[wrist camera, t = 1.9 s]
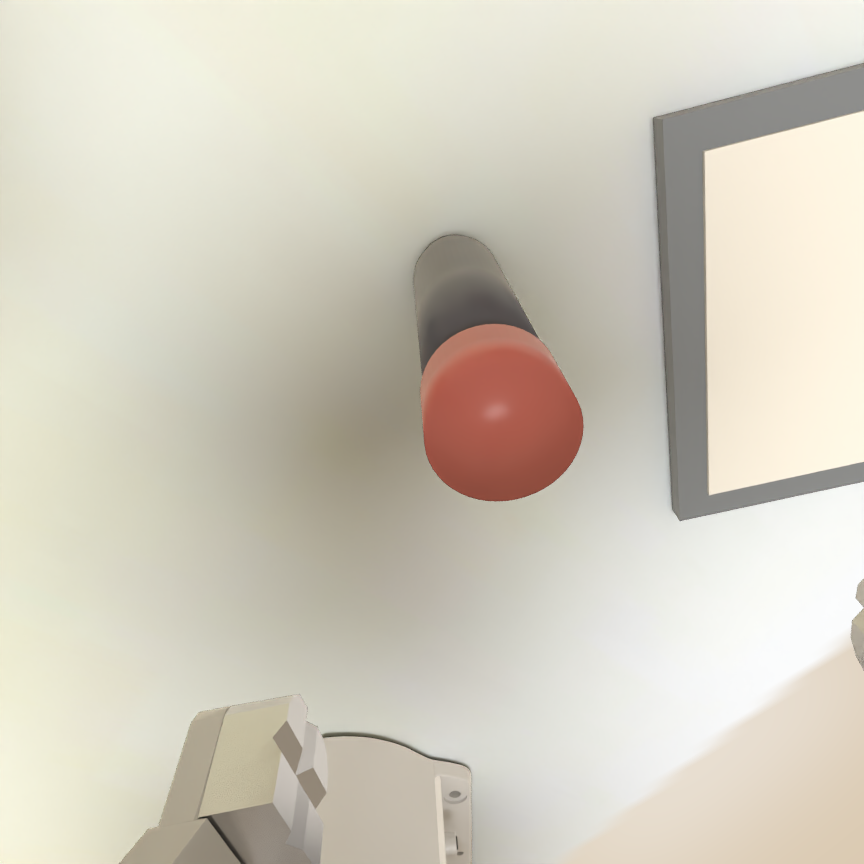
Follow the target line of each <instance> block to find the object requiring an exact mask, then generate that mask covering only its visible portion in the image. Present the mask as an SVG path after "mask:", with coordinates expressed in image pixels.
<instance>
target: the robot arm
mask: <svg viewBox="0 0 864 864" xmlns="http://www.w3.org/2000/svg"><path fill="white" fill-rule="evenodd" d="M856 599H857V600H858V601H859V603H860V604H861V605H862V606H863V607H864V579H863V580H862V581H861V582H860V583H859V584H858V587H857V593H856ZM851 640H852V644H853V647H854V651H855V654H856V657H857V659H858V661H859V663H860V664H861V666H862V668H863V670H864V608H863V609H862V611H861V612H860V613H859V614H858V615H857V616H856V617H855V618H854V619H853V620H852V627H851ZM307 711H308V707H307V706H306V704H305V702H304V700H303V699H302V697H301V695H300V694H298V695H290V696H285V697H279V698H273V699H267V700H262V701H256V702H250V703H244V704H239V705H233V706H228V707H223V708H218V709H212V710H207V711H202V712H199V713H198V714H197V715H196V717H195V718H194V719H193V721H192V722H191V724H190V727H189V730H188V734H187V737H186V740H185V743H184V746H183V749H182V753H181V756H180V759H179V762H178V765H177V768H176V772H175V775H174V778H173V781H172V784H171V787H170V791H169V794H168V797H167V800H166V803H165V807H164V810H163V813H162V816H161V819H160V822H159V826H158V827H155V828H150V829H148V830H147V831H146V832H145V833H144V834H143V836H142V837H141V838H140V839H139V840H138V842H137V843H136V844H135V845H134V846H133V848H132V849H131V850H130V851H129V852H128V853H127V855H126V856H125V857H124V858H123V859H122V861H121V862H120V863H119V864H472V816H471V772H470V770H469V769H468V768H467V767H465V766H462V765H459V764H455V763H450V762H444V761H437V760H432V759H429V758H427V757H424V756H422V755H420V754H418V753H416V752H414V751H412V750H410V749H408V748H406V747H404V746H401V745H398V744H395V743H392V742H388V741H384V740H380V739H374V738H367V737H354V736H340V737H327V738H323V737H322V735H321V733H320V731H319V729H318V727H317V726H315V725H313V724H311V723H309V722H307V721H306V719H307Z"/></svg>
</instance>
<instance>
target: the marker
mask: <svg viewBox="0 0 864 864" xmlns="http://www.w3.org/2000/svg"><path fill="white" fill-rule="evenodd" d="M413 284H414V295H415V306H416V316H417V327H418V337H419V348H420V358H421V369H422V380H421V387H420V395H421V408H422V420H423V432H424V444H425V450H426V454H427V457H428V460H429V463H430V464H431V466H432V468H433V470H434V471H435V473H436V474H437V475H438V476H439V478H440V479H441V480H442V481H443V482H444V483H445V484H447V485H448V486H449V487H451V488H452V489H454V490H456V491H457V492H459V493H461V494H463V495H466V496H468V497H471V498H475V499H479V500H485V501H509V500H515V499H519V498H523V497H526V496H529V495H531V494H534V493H536V492H538V491H540V490H542V489H544V488H546V487H547V486H549V485H550V484H552V483H553V482H554V481H555V480H556V479H558V478H559V477H560V476H561V475H562V474H563V473H564V472H565V471H566V470H567V468H568V467H569V466H570V464H571V463H572V461H573V460H574V458H575V456H576V454H577V452H578V450H579V447H580V444H581V440H582V436H583V417H582V412H581V408H580V406H579V403H578V401H577V399H576V397H575V395H574V393H573V392H572V390H571V388H570V386H569V385H568V383H567V381H566V379H565V377H564V376H563V374H562V372H561V370H560V368H559V367H558V365H557V363H556V361H555V360H554V358H553V356H552V354H551V353H550V351H549V350H548V348H547V347H546V346H545V345H544V344H543V343H542V342H541V341H540V340H539V338H538V336H537V335H536V333H535V331H534V329H533V327H532V325H531V324H530V322H529V320H528V318H527V316H526V314H525V313H524V311H523V309H522V307H521V305H520V303H519V302H518V300H517V298H516V296H515V294H514V292H513V291H512V289H511V287H510V285H509V283H508V281H507V280H506V278H505V276H504V274H503V272H502V270H501V269H500V267H499V265H498V263H497V261H496V259H495V258H494V256H493V254H492V253H491V252H490V250H489V249H488V248H487V247H486V246H485V245H483V244H482V243H481V242H479V241H477V240H475V239H473V238H470V237H466V236H460V235H449V236H444V237H441V238H439V239H437V240H436V241H434V242H433V243H432V244H430V245H429V247H428V248H427V249H426V250H425V251H424V252H423V253H422V255H421V256H420V257H419V259H418V261H417V264H416V266H415V270H414V276H413Z"/></svg>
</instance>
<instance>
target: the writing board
mask: <svg viewBox="0 0 864 864" xmlns="http://www.w3.org/2000/svg"><path fill="white" fill-rule="evenodd" d="M653 122H654V143H655V163H656V183H657V203H658V223H659V243H660V263H661V284H662V304H663V324H664V344H665V364H666V384H667V405H668V425H669V445H670V465H671V485H672V505H673V511H674V513H675V514H676V516H677V517H678V519H679V520H680V521H682V520H687V519H692V518H696V517H701V516H706V515H710V514H715V513H720V512H724V511H729V510H734V509H738V508H743V507H748V506H752V505H757V504H762V503H766V502H771V501H776V500H780V499H785V498H790V497H794V496H799V495H804V494H808V493H813V492H818V491H822V490H827V489H832V488H836V487H841V486H846V485H850V484H855V483H860V482H864V63H863V64H859V65H855V66H851V67H847V68H843V69H840V70H836V71H832V72H828V73H824V74H820V75H816V76H813V77H809V78H805V79H801V80H797V81H793V82H789V83H786V84H782V85H778V86H774V87H770V88H766V89H762V90H759V91H755V92H751V93H747V94H743V95H739V96H735V97H732V98H728V99H724V100H720V101H716V102H712V103H708V104H705V105H701V106H697V107H693V108H689V109H685V110H681V111H678V112H674V113H670V114H666V115H662V116H658V117H654V118H653Z"/></svg>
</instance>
